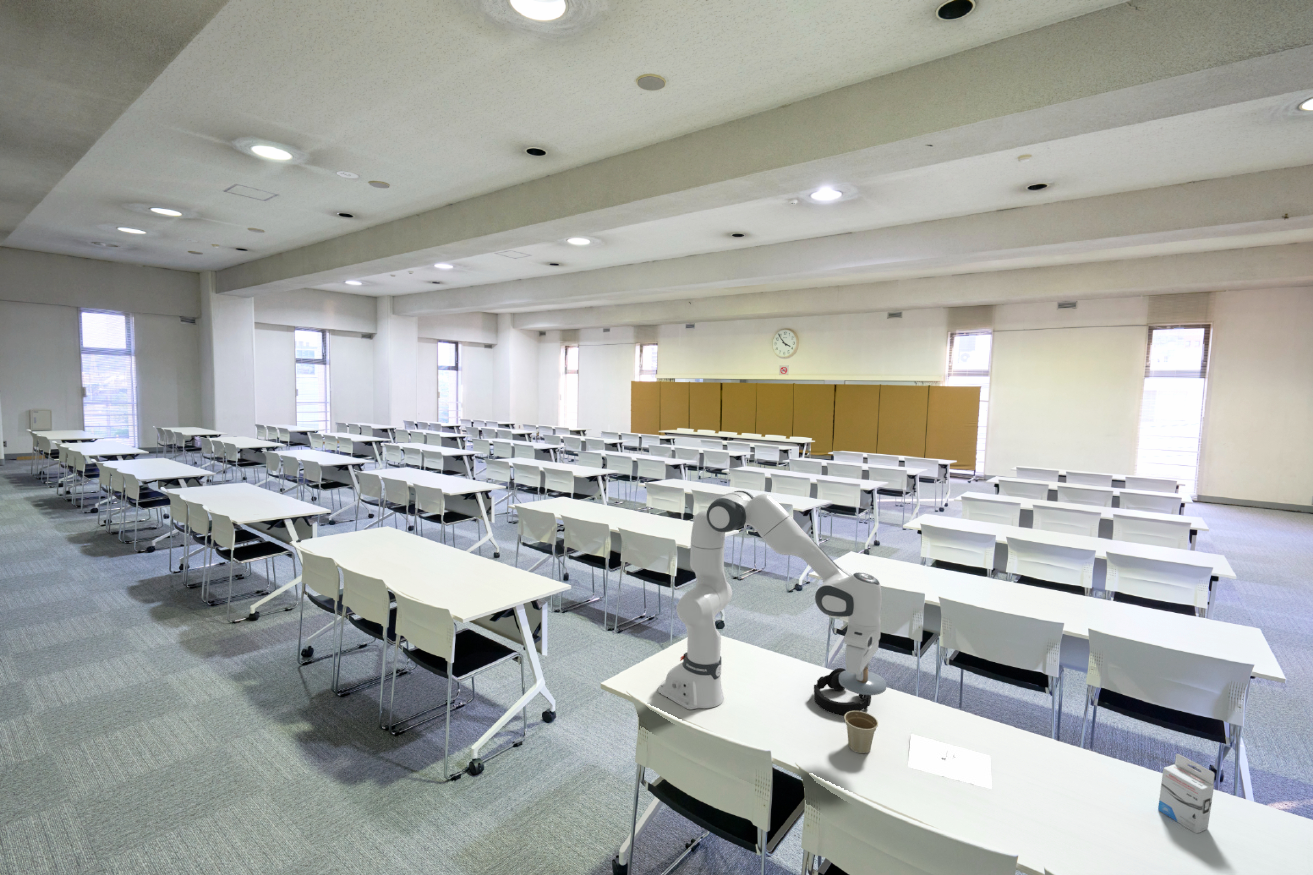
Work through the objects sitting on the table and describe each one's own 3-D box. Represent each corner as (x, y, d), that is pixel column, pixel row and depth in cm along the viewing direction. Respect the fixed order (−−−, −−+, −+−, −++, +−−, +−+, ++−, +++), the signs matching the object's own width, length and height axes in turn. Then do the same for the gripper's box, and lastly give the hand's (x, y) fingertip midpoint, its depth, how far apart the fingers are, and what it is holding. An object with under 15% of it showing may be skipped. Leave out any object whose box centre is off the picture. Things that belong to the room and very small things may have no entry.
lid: (832, 685, 171) (833, 670, 171) (846, 668, 182) (847, 653, 182) (879, 700, 164) (879, 684, 163) (891, 680, 175) (891, 665, 174)
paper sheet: (999, 761, 170) (1000, 758, 170) (992, 828, 146) (993, 824, 146) (911, 733, 183) (912, 729, 183) (891, 790, 159) (891, 787, 159)
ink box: (1156, 809, 152) (1163, 755, 150) (1168, 805, 154) (1175, 751, 152) (1196, 834, 144) (1203, 777, 142) (1209, 829, 146) (1216, 772, 144)
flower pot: (878, 759, 170) (880, 731, 169) (844, 754, 172) (846, 726, 171) (873, 740, 179) (875, 712, 178) (841, 735, 181) (842, 708, 180)
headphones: (880, 676, 201) (856, 706, 186) (880, 697, 202) (856, 729, 188) (831, 659, 212) (804, 686, 198) (831, 679, 214) (804, 707, 199)
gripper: (863, 615, 182) (861, 659, 183) (841, 639, 165) (840, 687, 166) (884, 620, 178) (883, 665, 179) (865, 645, 161) (863, 694, 163)
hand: (862, 676), depth 173 cm, fingers closed on lid, 3 cm apart
